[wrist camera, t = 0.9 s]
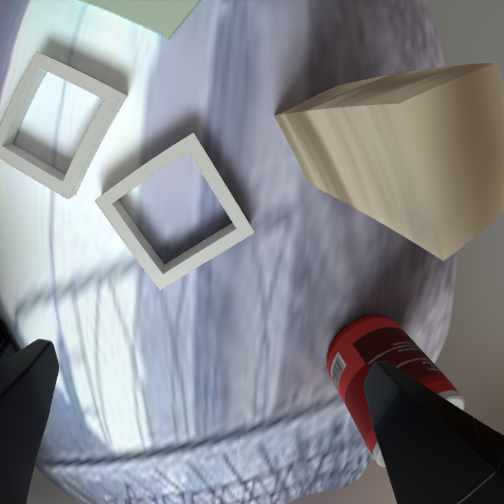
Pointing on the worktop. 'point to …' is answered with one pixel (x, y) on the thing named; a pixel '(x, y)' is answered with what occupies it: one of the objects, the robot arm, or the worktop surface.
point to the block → (409, 150)
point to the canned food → (370, 351)
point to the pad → (150, 12)
